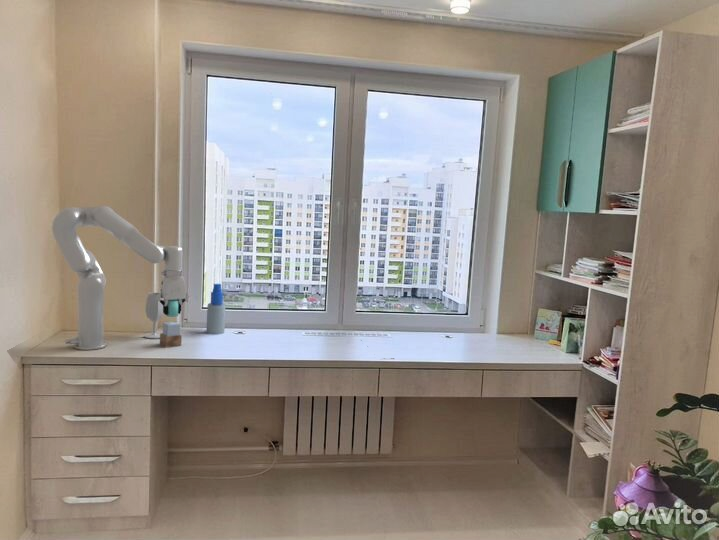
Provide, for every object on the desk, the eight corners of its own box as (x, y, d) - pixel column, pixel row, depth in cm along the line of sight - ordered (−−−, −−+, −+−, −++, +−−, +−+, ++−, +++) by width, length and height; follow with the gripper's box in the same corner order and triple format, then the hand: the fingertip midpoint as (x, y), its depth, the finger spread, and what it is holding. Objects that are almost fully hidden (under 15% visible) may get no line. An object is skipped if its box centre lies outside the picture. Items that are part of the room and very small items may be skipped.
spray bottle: (205, 333, 254) (207, 284, 251) (207, 329, 263) (209, 282, 260) (223, 334, 256) (225, 285, 253) (225, 330, 264) (227, 283, 262)
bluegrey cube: (167, 336, 225) (167, 325, 224) (162, 333, 229) (163, 322, 228) (179, 335, 229) (179, 324, 228) (174, 332, 233) (174, 321, 232)
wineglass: (167, 335, 245) (168, 293, 243) (158, 339, 236) (159, 295, 234) (150, 334, 246) (151, 291, 244) (140, 338, 237) (141, 294, 235)
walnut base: (165, 347, 224) (166, 336, 224) (159, 344, 230) (160, 333, 229) (181, 346, 229) (181, 335, 229) (174, 342, 234) (175, 332, 234)
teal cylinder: (168, 317, 224) (169, 301, 224) (164, 315, 228) (164, 299, 227) (179, 316, 228) (180, 300, 227) (175, 314, 231) (175, 299, 231)
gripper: (157, 275, 218) (156, 317, 219) (195, 274, 229) (193, 313, 231) (150, 273, 223) (149, 314, 225) (187, 272, 235) (186, 311, 236)
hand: (172, 313), depth 228 cm, fingers closed on teal cylinder, 5 cm apart
